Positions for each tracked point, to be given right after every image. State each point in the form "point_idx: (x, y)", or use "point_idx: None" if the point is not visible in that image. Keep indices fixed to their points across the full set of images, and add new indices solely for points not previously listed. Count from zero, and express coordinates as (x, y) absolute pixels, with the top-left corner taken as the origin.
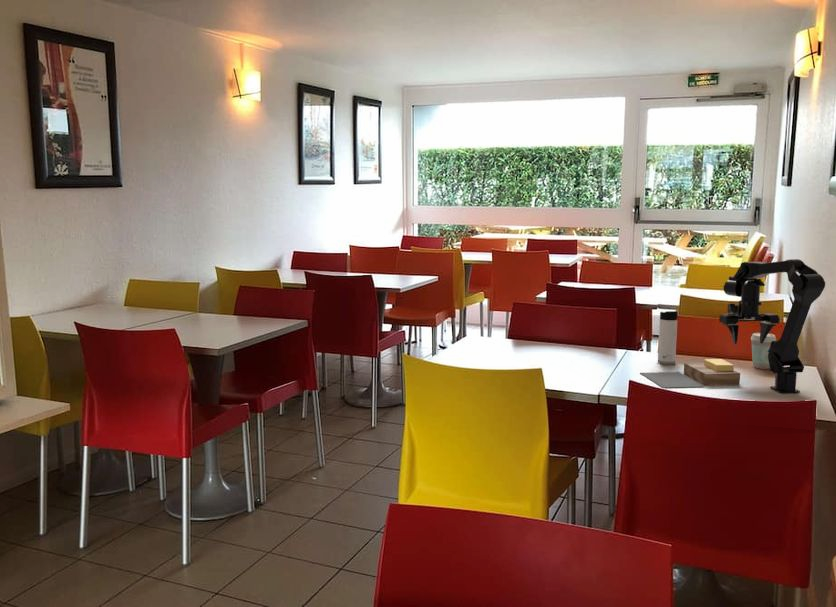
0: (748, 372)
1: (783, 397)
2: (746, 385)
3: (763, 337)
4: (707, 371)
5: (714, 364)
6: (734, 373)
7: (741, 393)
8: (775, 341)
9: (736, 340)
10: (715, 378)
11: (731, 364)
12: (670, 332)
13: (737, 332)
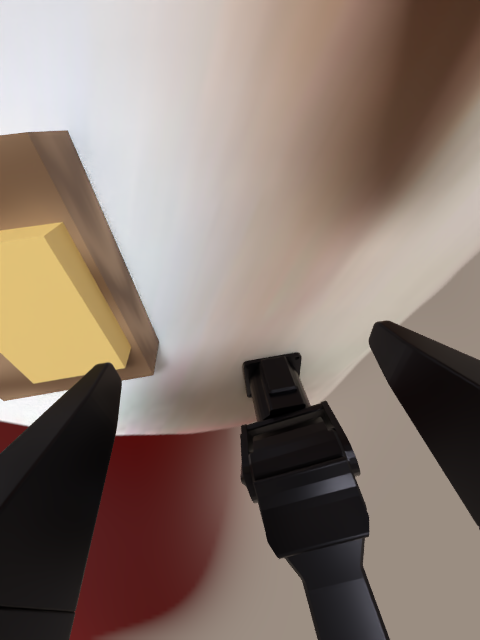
0: (285, 93)
1: (237, 413)
2: (181, 342)
3: (406, 408)
4: (4, 371)
5: (18, 367)
6: (129, 378)
7: (146, 406)
8: (292, 552)
9: (108, 425)
10: None
11: (113, 363)
12: None
13: (77, 567)
